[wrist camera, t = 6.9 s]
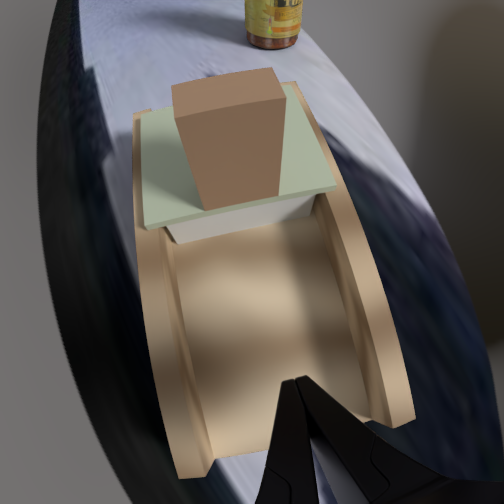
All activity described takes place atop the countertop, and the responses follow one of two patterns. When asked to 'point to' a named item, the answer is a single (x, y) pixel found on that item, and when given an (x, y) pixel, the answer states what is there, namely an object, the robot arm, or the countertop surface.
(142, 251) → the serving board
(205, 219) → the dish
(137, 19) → the countertop surface
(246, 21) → the sauce bottle
